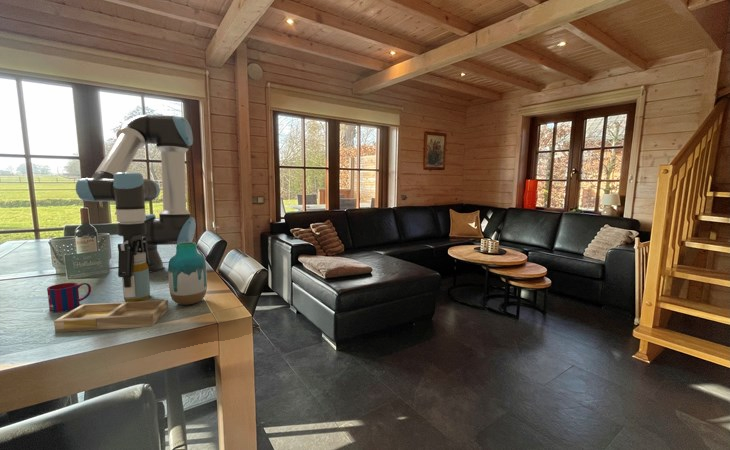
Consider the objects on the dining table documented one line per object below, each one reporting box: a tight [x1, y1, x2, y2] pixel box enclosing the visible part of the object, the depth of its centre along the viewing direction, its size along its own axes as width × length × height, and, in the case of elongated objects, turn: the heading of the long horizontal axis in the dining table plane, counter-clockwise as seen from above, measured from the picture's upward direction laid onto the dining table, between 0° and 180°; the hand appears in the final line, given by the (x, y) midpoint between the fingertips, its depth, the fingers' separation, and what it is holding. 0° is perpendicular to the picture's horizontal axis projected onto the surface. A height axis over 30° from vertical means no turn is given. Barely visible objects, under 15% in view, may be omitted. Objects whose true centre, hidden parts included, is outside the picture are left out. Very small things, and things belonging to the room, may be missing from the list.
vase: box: [167, 241, 208, 306], centre depth 103 cm, size 11×11×19 cm
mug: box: [46, 282, 92, 313], centre depth 100 cm, size 7×10×7 cm
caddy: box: [53, 299, 169, 333], centre depth 91 cm, size 12×22×3 cm, turn 102°
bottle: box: [121, 252, 151, 302], centre depth 106 cm, size 7×7×15 cm
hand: (136, 291), depth 107 cm, fingers open, 8 cm apart
